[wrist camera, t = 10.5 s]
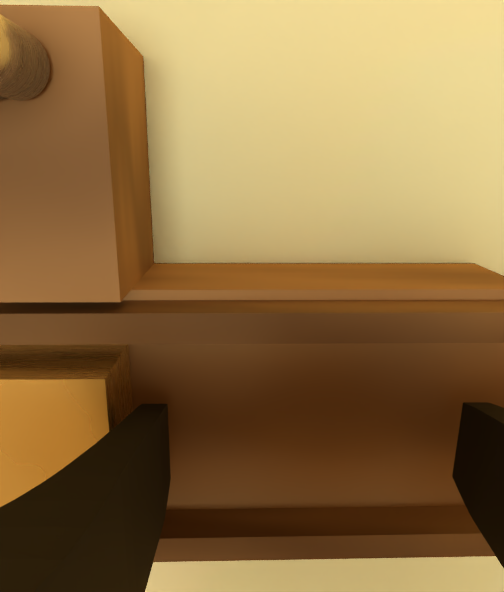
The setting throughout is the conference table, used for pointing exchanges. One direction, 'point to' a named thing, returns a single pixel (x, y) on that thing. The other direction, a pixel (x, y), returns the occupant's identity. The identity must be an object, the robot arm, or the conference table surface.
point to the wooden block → (56, 407)
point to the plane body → (240, 336)
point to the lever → (21, 62)
